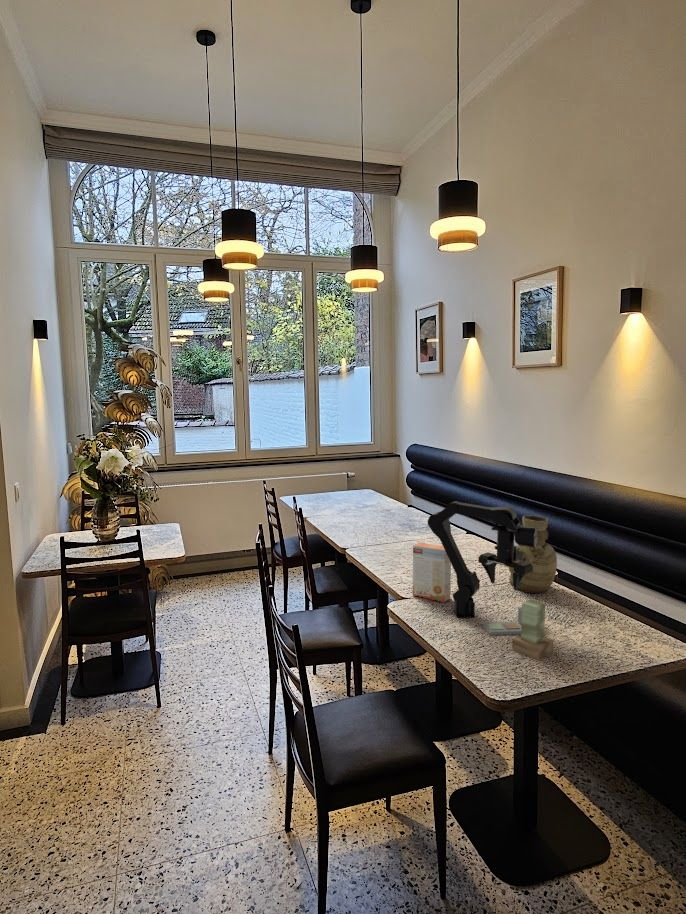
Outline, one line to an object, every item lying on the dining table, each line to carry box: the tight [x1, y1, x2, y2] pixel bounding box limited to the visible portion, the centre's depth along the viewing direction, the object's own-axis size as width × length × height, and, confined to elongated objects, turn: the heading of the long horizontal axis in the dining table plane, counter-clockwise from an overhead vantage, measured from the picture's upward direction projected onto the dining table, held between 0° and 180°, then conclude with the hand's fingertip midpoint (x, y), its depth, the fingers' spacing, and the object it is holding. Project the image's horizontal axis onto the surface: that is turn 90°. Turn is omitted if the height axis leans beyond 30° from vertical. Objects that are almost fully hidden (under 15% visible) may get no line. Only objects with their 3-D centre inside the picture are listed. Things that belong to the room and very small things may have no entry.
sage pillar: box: [520, 598, 546, 645], centre depth 184 cm, size 5×5×12 cm
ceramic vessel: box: [507, 515, 558, 594], centre depth 240 cm, size 19×21×30 cm
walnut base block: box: [511, 634, 555, 660], centre depth 185 cm, size 9×9×4 cm
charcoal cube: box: [517, 606, 522, 626], centre depth 204 cm, size 6×6×6 cm
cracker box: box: [412, 542, 452, 603], centre depth 230 cm, size 14×6×21 cm, turn 56°
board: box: [482, 621, 521, 636], centre depth 201 cm, size 12×8×1 cm, turn 94°
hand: (504, 586), depth 205 cm, fingers open, 9 cm apart
